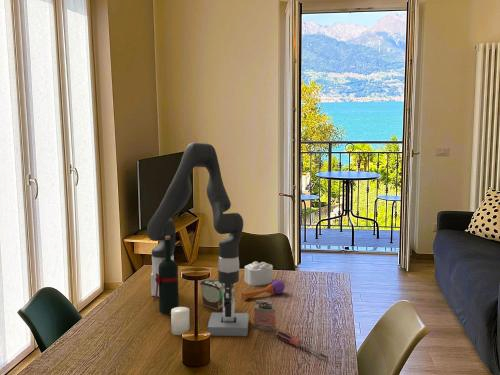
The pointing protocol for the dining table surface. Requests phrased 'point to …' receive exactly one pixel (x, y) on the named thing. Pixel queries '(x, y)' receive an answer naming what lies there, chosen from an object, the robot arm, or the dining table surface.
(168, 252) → the wine bottle
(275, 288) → the kendama
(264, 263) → the lumpy-topped squat cylinder
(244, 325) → the socket block
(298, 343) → the screwdriver
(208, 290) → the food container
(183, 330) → the white short cylinder
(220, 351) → the dining table surface
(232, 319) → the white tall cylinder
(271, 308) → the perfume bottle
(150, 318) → the dining table surface
